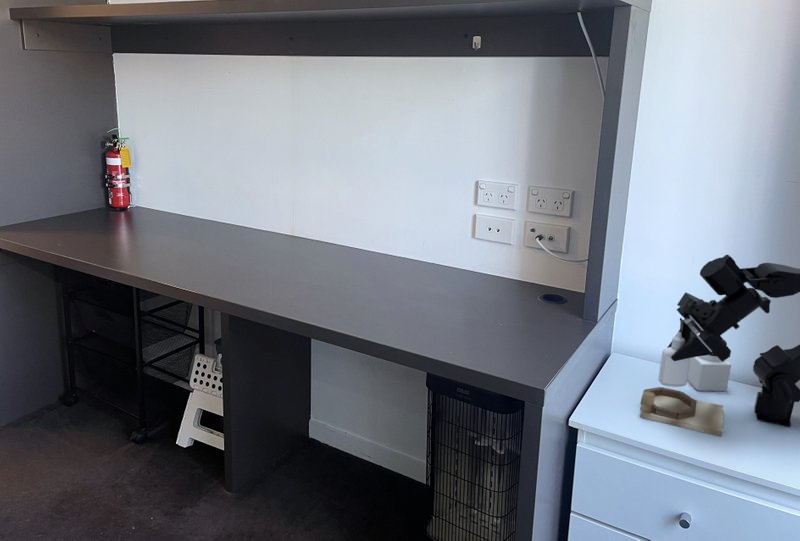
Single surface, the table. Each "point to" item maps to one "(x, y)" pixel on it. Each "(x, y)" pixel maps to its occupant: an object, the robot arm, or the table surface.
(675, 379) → the eye dropper bottle
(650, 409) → the board
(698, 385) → the medicine bottle
